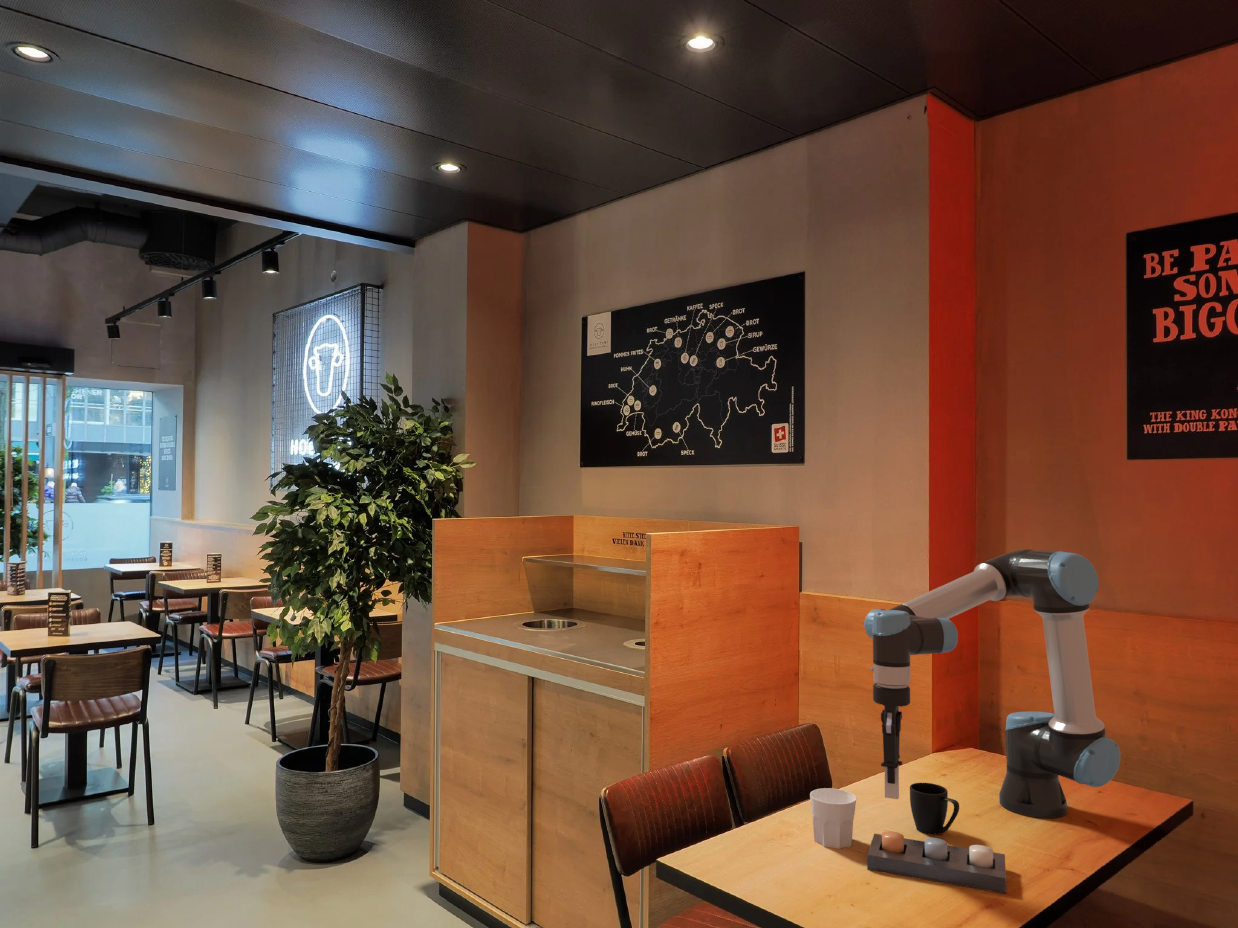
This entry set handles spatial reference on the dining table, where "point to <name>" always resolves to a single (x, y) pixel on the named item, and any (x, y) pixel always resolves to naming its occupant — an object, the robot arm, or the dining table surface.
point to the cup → (833, 816)
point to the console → (938, 866)
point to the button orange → (893, 842)
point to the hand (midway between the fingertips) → (891, 796)
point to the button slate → (936, 849)
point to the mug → (931, 808)
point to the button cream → (981, 856)
